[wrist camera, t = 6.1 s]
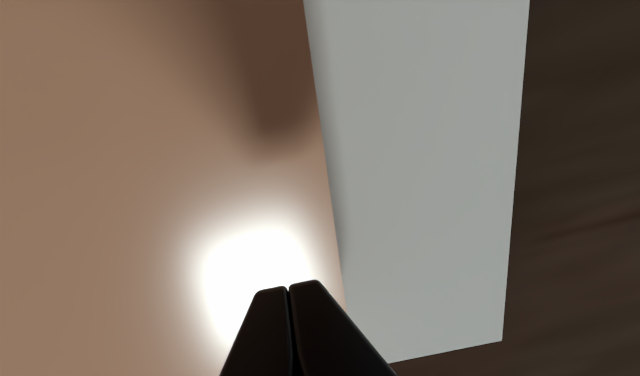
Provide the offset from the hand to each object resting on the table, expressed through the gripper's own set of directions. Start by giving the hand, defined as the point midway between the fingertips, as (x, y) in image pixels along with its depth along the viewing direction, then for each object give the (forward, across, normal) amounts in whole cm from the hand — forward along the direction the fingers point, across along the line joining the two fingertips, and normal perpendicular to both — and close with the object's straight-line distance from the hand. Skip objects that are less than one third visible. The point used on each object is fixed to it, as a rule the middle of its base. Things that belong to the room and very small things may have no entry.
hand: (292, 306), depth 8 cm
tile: (+3, -1, 0) cm, 3 cm away
